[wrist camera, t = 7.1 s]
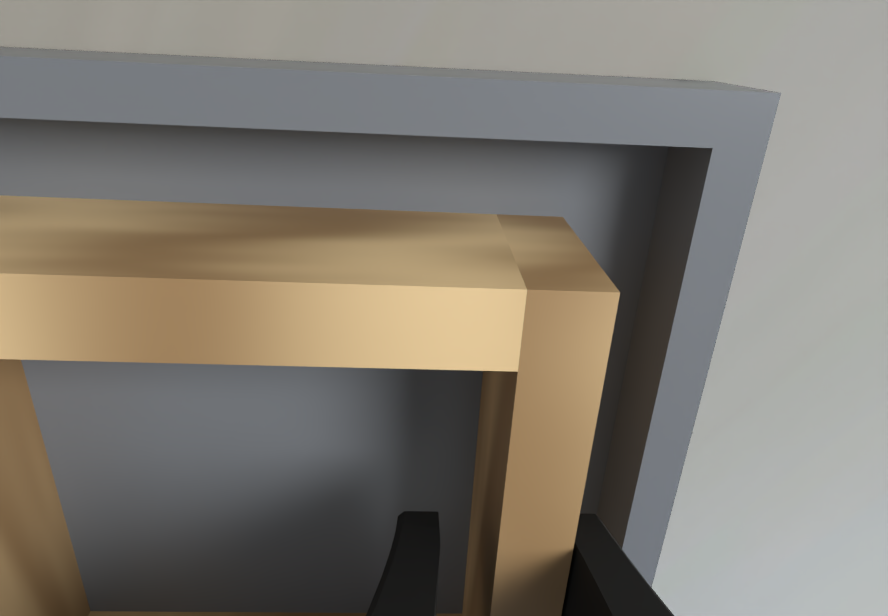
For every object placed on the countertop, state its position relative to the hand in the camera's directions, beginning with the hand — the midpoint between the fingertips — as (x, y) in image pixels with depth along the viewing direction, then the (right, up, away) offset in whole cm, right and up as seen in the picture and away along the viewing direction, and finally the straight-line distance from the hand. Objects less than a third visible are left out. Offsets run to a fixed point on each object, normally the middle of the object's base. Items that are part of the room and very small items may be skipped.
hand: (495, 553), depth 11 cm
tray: (-5, +1, +3) cm, 5 cm away
